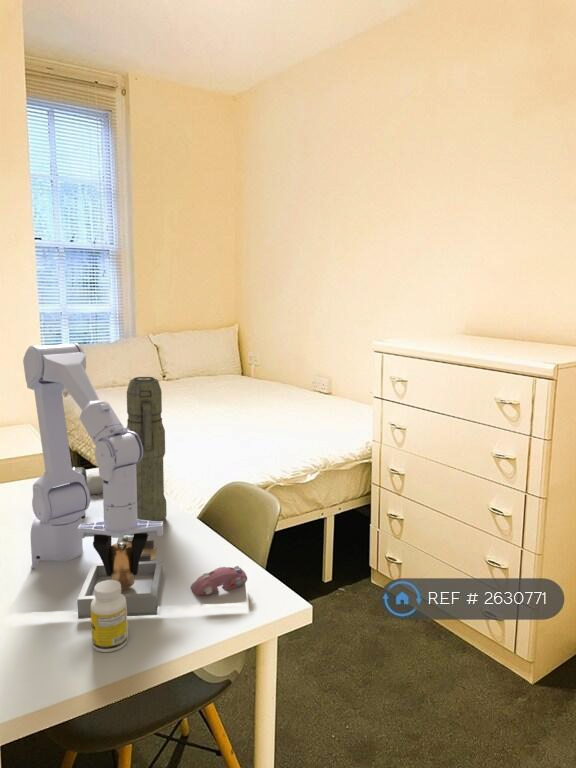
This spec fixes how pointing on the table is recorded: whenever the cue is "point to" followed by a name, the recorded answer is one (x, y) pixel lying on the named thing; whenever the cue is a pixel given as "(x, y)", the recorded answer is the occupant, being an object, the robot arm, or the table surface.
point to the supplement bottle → (109, 617)
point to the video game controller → (219, 580)
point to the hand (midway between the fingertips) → (122, 573)
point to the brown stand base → (147, 552)
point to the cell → (122, 564)
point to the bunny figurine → (95, 483)
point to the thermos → (148, 446)
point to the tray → (134, 602)
